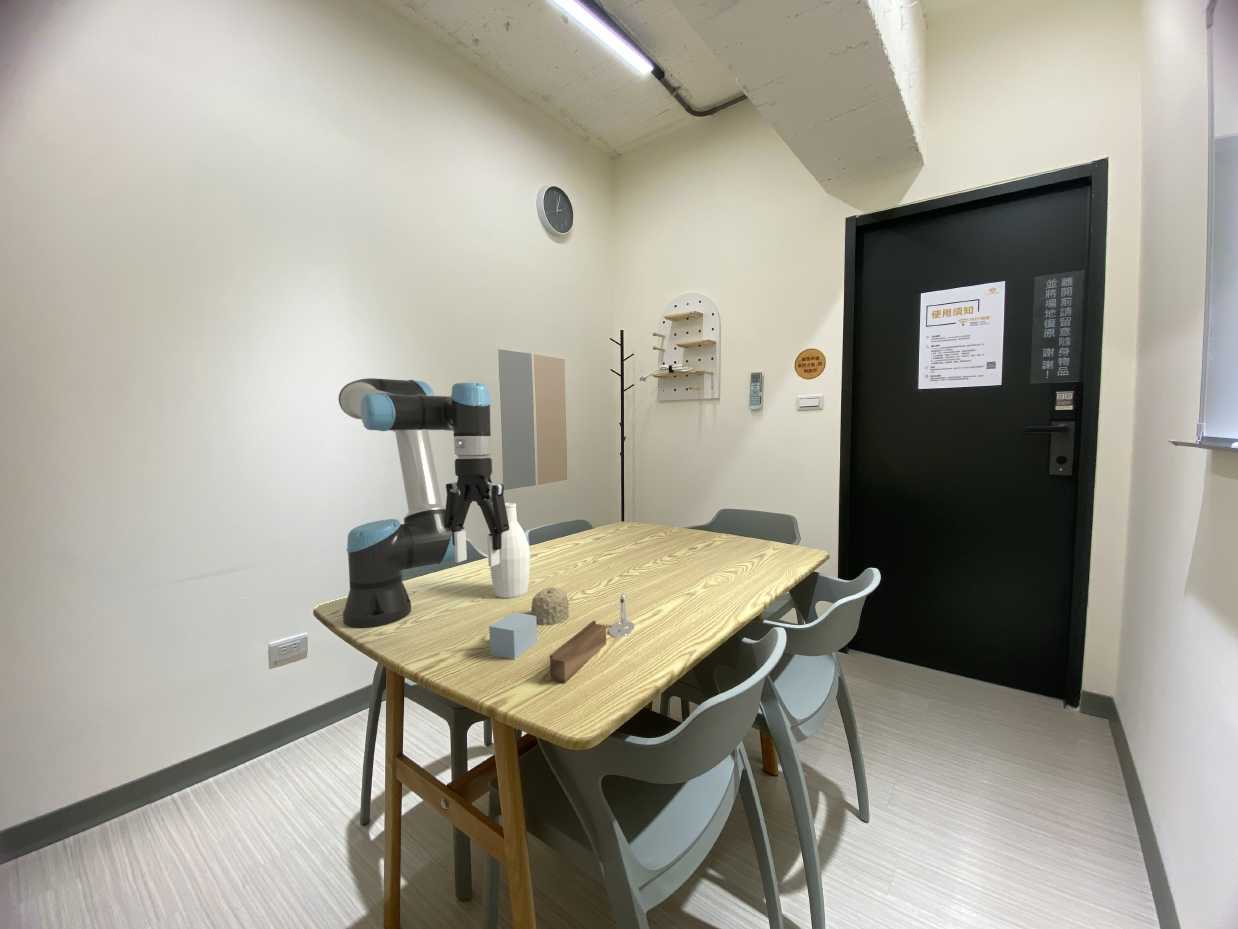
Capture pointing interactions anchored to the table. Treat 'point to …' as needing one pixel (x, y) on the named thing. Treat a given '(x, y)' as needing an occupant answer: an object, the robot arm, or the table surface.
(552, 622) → the sponge
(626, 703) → the table surface
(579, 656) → the brown wooden bar
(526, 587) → the bottle
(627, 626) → the metal post stand
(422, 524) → the robot arm
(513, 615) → the block
